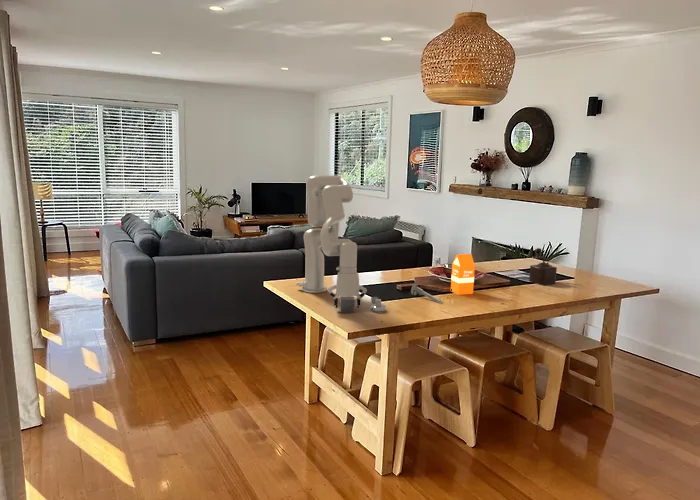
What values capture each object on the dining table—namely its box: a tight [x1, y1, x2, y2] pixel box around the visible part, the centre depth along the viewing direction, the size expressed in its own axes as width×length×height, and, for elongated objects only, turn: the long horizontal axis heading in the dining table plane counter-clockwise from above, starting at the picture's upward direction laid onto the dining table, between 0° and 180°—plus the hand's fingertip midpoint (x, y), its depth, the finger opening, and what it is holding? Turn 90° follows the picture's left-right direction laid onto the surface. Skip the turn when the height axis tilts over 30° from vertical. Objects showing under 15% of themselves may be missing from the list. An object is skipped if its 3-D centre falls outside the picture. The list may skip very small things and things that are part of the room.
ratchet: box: [369, 296, 387, 313], centre depth 250 cm, size 7×21×5 cm, turn 3°
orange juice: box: [450, 253, 476, 296], centre depth 277 cm, size 8×9×20 cm
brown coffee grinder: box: [528, 247, 558, 286], centre depth 305 cm, size 16×11×18 cm
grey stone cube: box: [339, 296, 355, 314], centre depth 241 cm, size 6×6×6 cm
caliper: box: [410, 283, 444, 304], centre depth 264 cm, size 20×1×6 cm, turn 39°
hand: (347, 307), depth 242 cm, fingers open, 9 cm apart
